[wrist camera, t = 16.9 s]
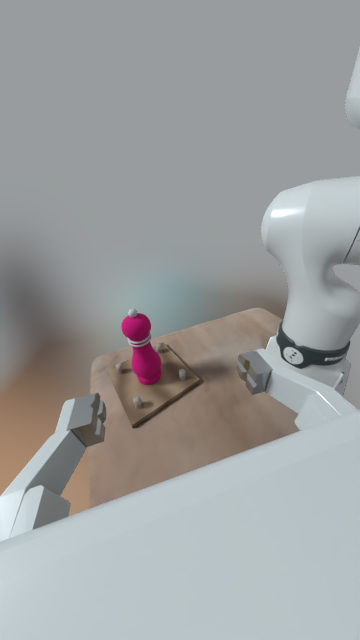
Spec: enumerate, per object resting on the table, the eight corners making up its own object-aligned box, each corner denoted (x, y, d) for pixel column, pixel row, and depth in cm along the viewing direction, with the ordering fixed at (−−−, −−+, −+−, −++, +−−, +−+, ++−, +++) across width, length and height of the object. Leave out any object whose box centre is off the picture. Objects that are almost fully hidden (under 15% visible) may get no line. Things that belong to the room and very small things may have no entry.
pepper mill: (130, 376, 47) (106, 311, 36) (152, 360, 51) (137, 297, 39) (146, 392, 42) (124, 324, 31) (169, 374, 46) (157, 307, 35)
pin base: (163, 345, 58) (162, 336, 55) (199, 382, 45) (199, 372, 43) (108, 373, 50) (104, 364, 48) (133, 428, 37) (128, 419, 35)
